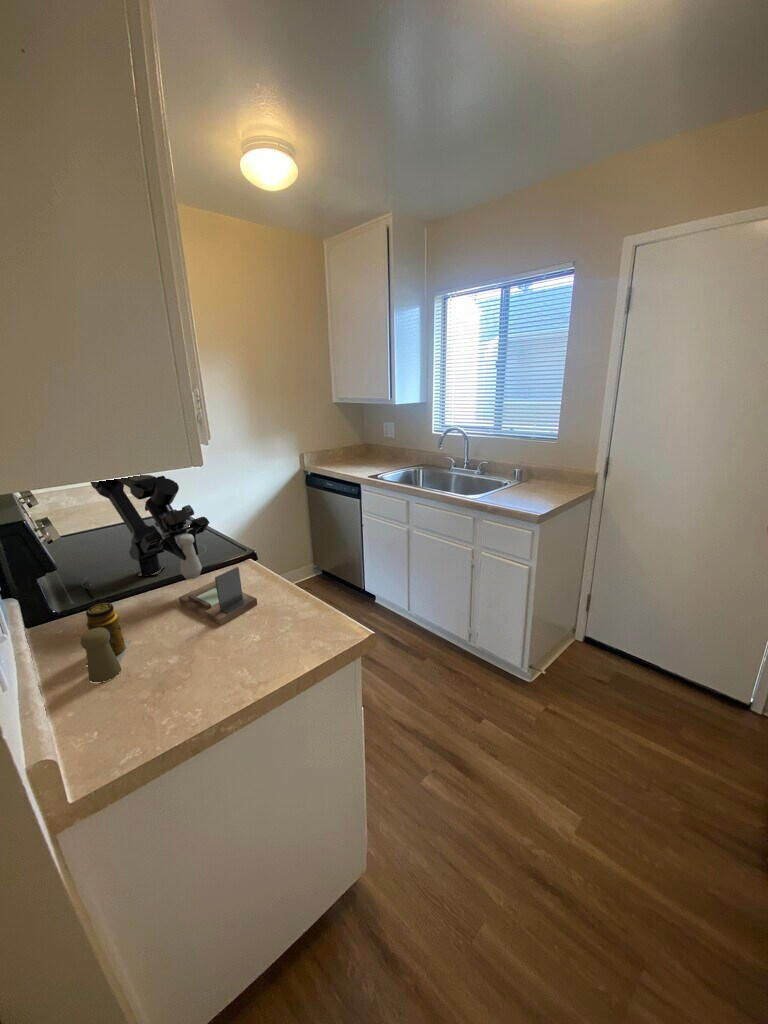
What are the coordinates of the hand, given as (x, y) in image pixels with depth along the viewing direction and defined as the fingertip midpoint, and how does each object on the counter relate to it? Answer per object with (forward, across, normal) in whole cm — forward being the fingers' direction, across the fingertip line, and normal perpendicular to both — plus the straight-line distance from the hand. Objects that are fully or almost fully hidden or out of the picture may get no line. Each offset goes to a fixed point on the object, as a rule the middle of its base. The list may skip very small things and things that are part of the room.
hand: (191, 557), depth 118 cm
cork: (+18, -31, -1) cm, 36 cm away
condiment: (+14, -28, +4) cm, 31 cm away
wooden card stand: (+16, 0, +2) cm, 16 cm away
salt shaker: (+4, 0, +6) cm, 7 cm away
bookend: (+20, 0, -6) cm, 20 cm away
